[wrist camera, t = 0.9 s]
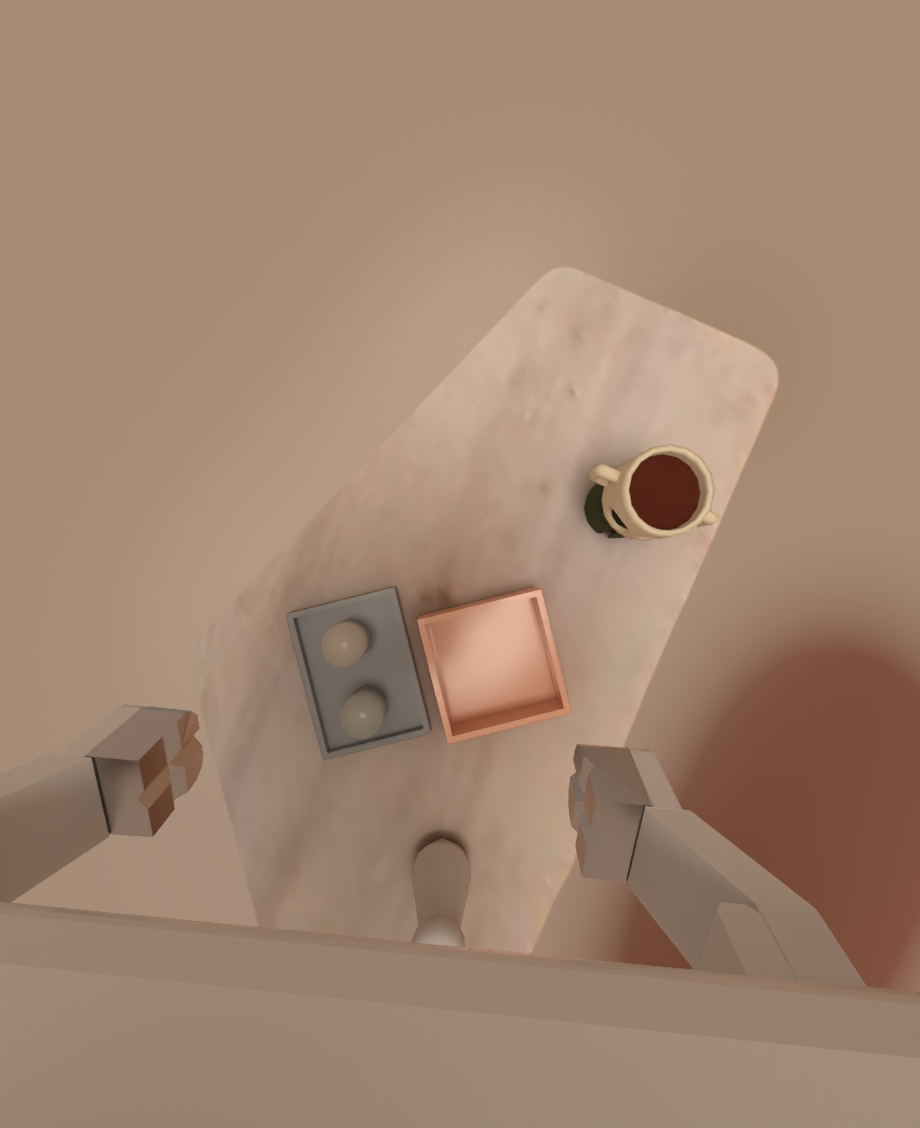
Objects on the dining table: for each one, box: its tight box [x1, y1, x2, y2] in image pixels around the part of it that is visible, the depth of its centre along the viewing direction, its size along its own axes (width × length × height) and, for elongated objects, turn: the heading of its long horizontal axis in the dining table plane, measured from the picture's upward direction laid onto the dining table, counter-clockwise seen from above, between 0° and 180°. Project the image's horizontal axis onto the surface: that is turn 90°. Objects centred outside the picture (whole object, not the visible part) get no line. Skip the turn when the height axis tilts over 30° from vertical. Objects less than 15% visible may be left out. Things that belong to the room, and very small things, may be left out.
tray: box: [286, 587, 432, 760], centre depth 49 cm, size 15×11×1 cm
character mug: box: [585, 445, 719, 540], centre depth 43 cm, size 11×7×13 cm, turn 66°
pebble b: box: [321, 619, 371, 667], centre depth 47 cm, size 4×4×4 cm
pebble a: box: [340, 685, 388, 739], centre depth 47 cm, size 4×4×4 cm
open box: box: [417, 587, 572, 744], centre depth 48 cm, size 12×12×4 cm
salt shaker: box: [412, 838, 471, 947], centre depth 43 cm, size 6×6×13 cm
